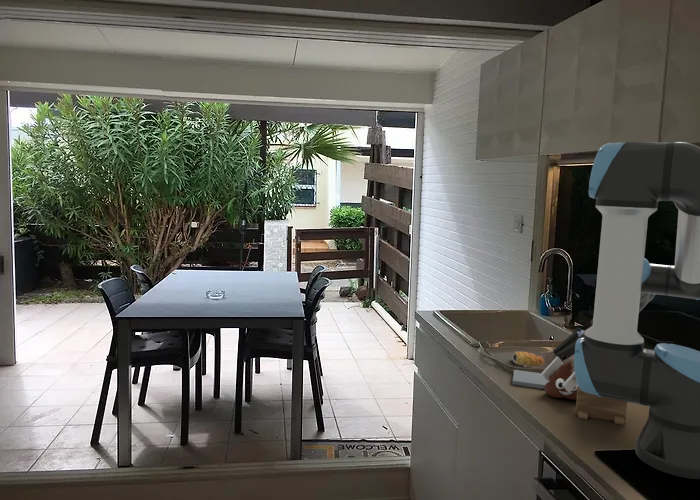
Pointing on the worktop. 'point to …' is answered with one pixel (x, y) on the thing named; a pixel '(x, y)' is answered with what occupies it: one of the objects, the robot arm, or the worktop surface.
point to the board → (529, 379)
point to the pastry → (527, 359)
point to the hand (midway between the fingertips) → (554, 383)
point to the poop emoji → (561, 383)
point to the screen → (600, 407)
